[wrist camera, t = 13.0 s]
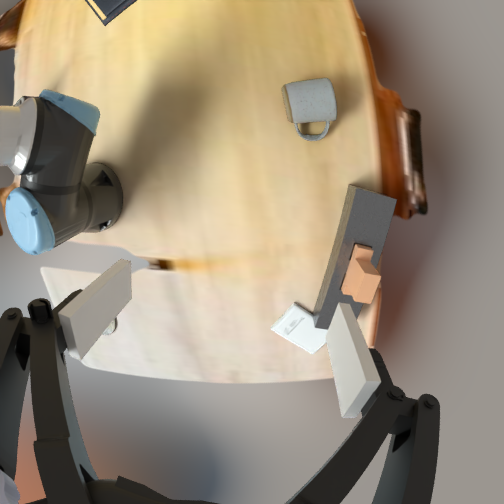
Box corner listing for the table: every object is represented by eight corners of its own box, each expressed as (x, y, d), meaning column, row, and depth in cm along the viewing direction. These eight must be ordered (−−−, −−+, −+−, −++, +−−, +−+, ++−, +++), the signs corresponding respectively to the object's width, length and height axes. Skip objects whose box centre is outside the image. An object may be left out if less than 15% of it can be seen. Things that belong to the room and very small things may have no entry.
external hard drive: (311, 350, 61) (270, 325, 60) (335, 328, 59) (293, 300, 57) (312, 355, 60) (270, 330, 58) (336, 332, 57) (294, 305, 55)
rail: (312, 314, 57) (314, 327, 52) (348, 184, 47) (356, 187, 42) (346, 319, 57) (350, 332, 52) (386, 195, 47) (396, 199, 42)
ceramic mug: (279, 89, 42) (279, 79, 35) (323, 83, 41) (331, 72, 34) (291, 144, 46) (294, 143, 39) (335, 138, 45) (346, 136, 37)
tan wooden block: (337, 279, 53) (350, 311, 41) (349, 237, 49) (368, 261, 38) (350, 282, 53) (366, 314, 41) (363, 240, 49) (385, 264, 38)
